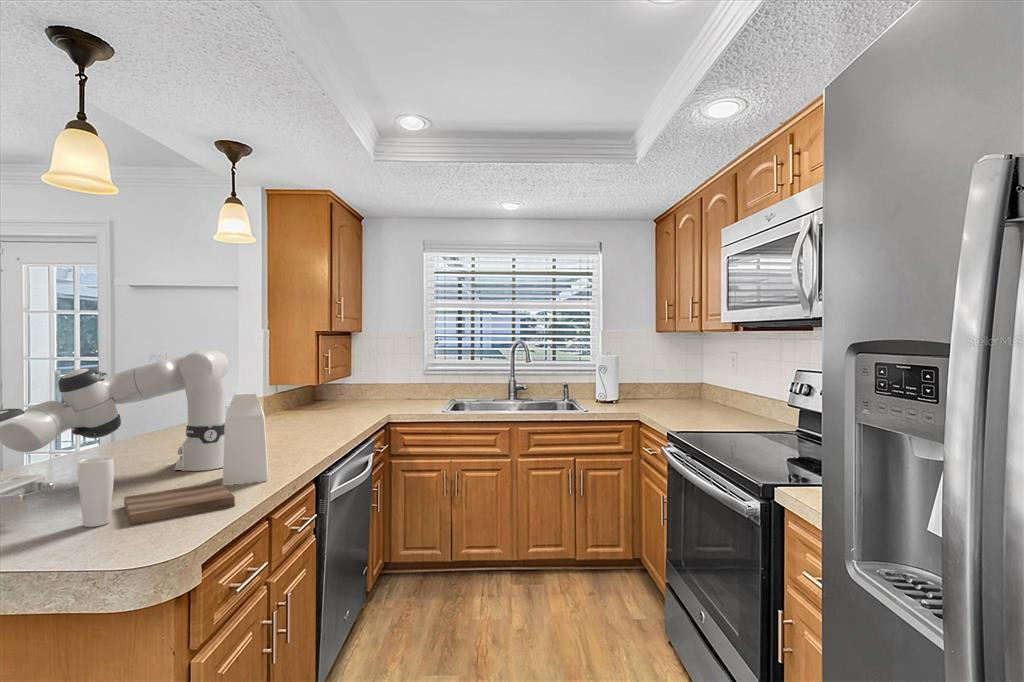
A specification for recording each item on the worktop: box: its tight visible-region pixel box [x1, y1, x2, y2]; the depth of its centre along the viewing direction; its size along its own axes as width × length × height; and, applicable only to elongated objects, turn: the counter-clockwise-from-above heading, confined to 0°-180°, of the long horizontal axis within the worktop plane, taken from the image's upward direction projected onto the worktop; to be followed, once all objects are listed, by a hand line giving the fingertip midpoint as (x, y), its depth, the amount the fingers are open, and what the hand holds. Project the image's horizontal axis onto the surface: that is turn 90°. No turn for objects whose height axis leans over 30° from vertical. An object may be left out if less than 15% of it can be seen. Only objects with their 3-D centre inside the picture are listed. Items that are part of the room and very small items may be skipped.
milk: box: [222, 392, 269, 487], centre depth 167 cm, size 12×12×26 cm
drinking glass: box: [77, 456, 115, 528], centre depth 128 cm, size 7×7×15 cm
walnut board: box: [123, 481, 236, 526], centre depth 141 cm, size 18×22×2 cm
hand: (38, 492), depth 126 cm, fingers open, 8 cm apart
